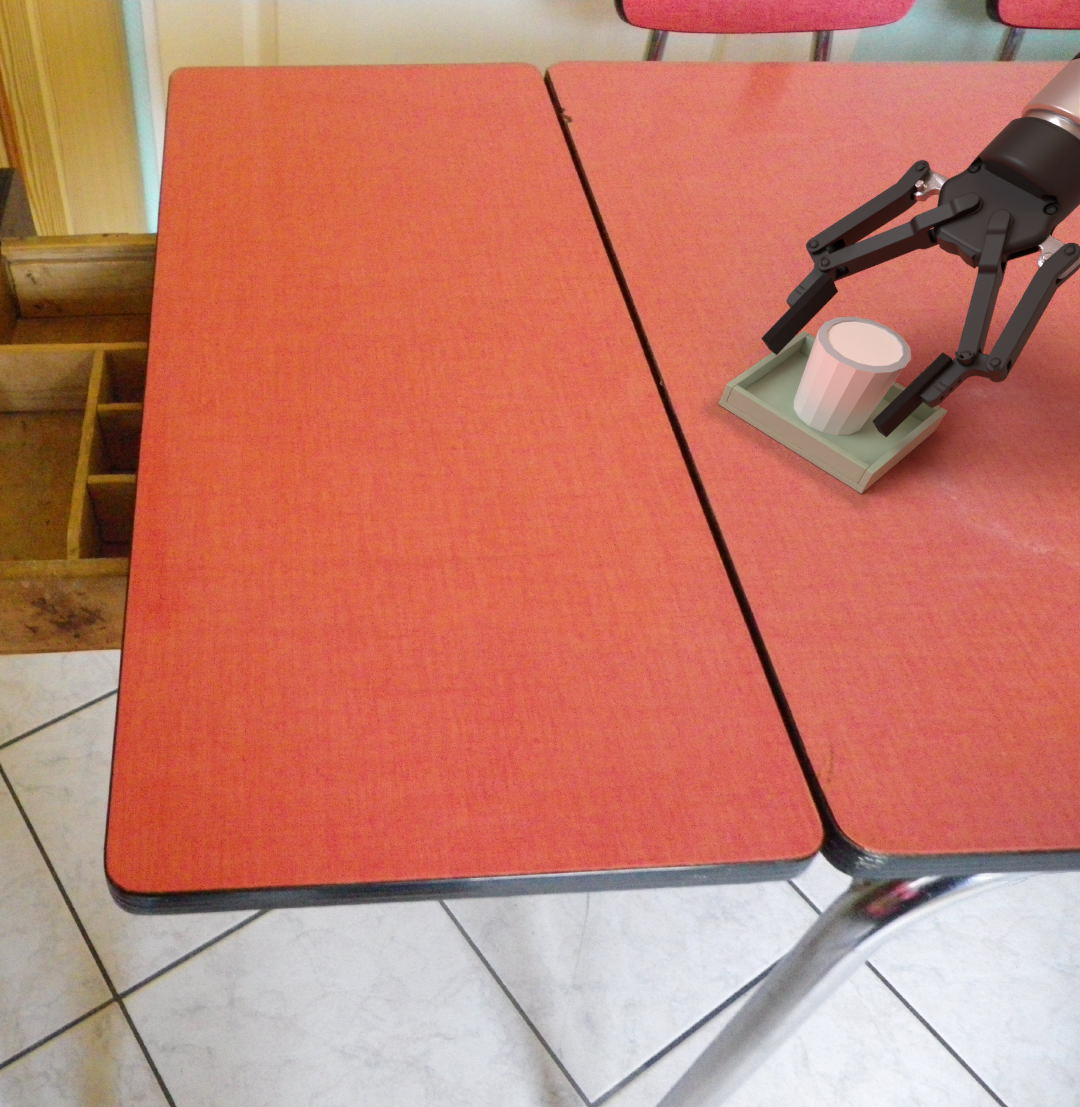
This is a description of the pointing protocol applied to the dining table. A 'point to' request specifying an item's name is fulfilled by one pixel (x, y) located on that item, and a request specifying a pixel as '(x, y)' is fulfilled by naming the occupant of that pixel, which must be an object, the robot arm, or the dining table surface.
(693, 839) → the dining table surface
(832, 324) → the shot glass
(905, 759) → the dining table surface
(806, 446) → the green tray
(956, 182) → the robot arm
